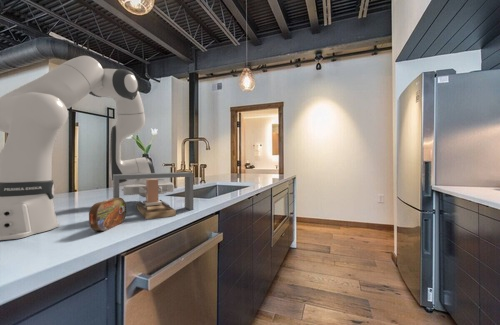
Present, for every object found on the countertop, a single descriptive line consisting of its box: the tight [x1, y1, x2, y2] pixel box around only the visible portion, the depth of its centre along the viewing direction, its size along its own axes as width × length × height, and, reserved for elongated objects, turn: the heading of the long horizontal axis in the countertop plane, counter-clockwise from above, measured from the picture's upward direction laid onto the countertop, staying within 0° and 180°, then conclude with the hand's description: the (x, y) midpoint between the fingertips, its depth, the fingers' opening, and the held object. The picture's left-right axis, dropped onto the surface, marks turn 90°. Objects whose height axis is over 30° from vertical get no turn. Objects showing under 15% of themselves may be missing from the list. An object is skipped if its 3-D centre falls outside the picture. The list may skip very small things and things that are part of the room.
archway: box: [112, 171, 194, 211], centre depth 92 cm, size 28×6×15 cm, turn 123°
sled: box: [142, 178, 162, 206], centre depth 97 cm, size 6×7×10 cm
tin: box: [88, 197, 127, 232], centre depth 72 cm, size 15×3×8 cm, turn 179°
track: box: [136, 199, 177, 220], centre depth 93 cm, size 10×22×3 cm, turn 33°
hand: (152, 190), depth 96 cm, fingers closed on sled, 4 cm apart
